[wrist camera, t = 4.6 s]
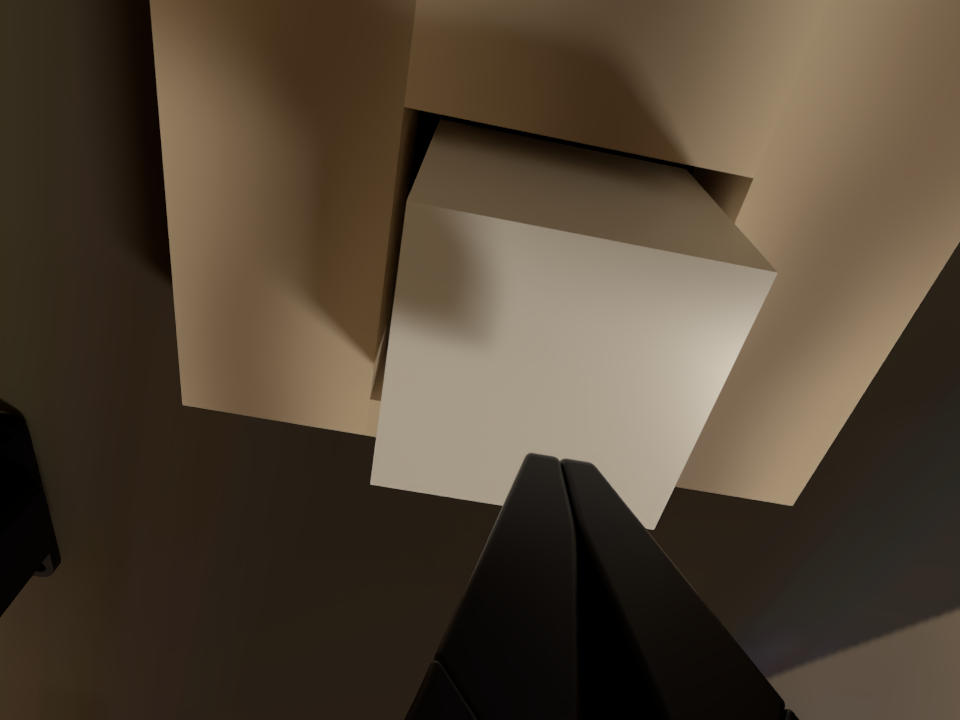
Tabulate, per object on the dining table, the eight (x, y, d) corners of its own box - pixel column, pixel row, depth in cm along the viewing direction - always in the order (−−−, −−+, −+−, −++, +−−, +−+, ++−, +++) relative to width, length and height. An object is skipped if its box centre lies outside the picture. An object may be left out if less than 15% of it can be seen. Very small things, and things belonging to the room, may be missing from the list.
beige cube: (408, 336, 15) (370, 484, 11) (439, 119, 12) (406, 200, 8) (612, 373, 15) (653, 529, 11) (686, 168, 13) (777, 272, 8)
